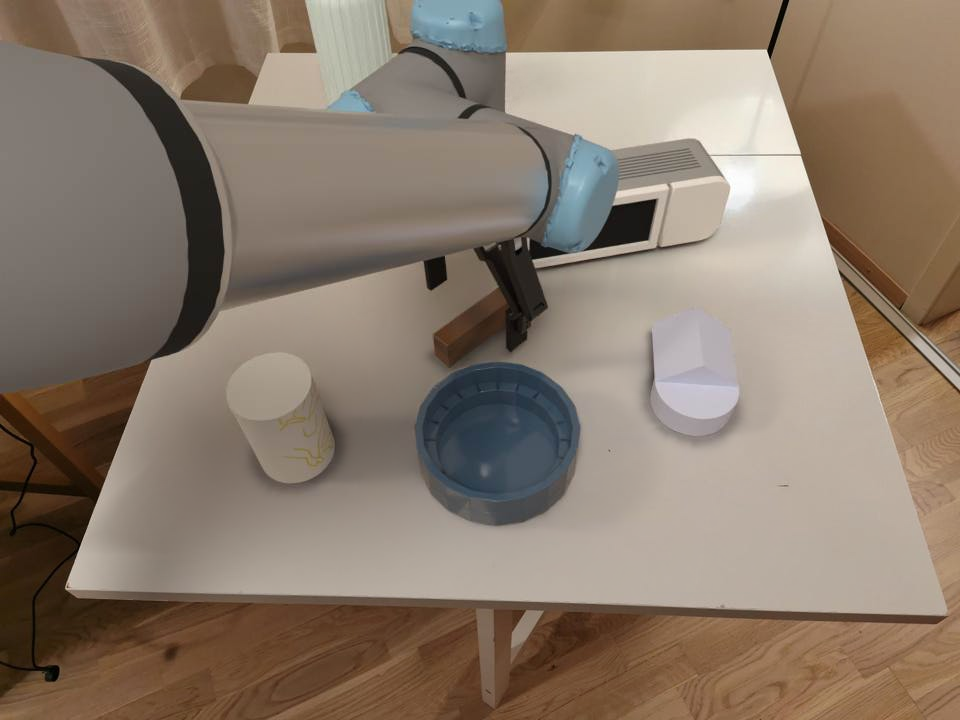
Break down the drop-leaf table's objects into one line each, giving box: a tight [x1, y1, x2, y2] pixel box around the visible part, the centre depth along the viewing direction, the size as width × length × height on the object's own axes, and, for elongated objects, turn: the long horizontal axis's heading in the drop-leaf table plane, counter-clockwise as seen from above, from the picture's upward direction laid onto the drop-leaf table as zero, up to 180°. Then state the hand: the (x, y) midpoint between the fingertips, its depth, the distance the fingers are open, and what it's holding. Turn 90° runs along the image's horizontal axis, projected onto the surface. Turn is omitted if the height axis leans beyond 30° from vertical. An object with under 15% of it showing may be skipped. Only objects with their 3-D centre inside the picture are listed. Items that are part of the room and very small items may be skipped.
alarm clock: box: [527, 137, 731, 269], centre depth 92 cm, size 27×9×12 cm, turn 102°
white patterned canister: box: [225, 352, 336, 484], centre depth 73 cm, size 8×8×12 cm
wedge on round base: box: [649, 306, 740, 437], centre depth 78 cm, size 9×7×13 cm
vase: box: [304, 0, 393, 107], centre depth 109 cm, size 12×12×22 cm
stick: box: [432, 286, 509, 368], centre depth 85 cm, size 11×3×4 cm, turn 134°
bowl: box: [414, 361, 581, 527], centre depth 74 cm, size 17×17×6 cm
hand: (475, 313), depth 84 cm, fingers open, 13 cm apart
